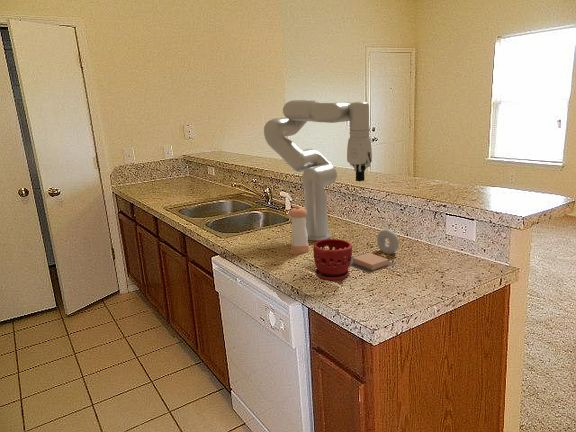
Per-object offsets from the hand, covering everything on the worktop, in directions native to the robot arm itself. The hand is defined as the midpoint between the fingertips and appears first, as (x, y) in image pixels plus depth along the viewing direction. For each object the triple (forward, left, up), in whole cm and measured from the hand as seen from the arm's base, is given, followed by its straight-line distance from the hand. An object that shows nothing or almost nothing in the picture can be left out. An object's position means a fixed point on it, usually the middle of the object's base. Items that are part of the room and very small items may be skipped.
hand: (360, 180), depth 176 cm
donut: (+15, 0, -27) cm, 31 cm away
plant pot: (+19, -30, -27) cm, 45 cm away
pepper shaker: (-10, -24, -27) cm, 38 cm away
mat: (+18, -14, -27) cm, 35 cm away
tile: (+15, -14, -25) cm, 32 cm away
